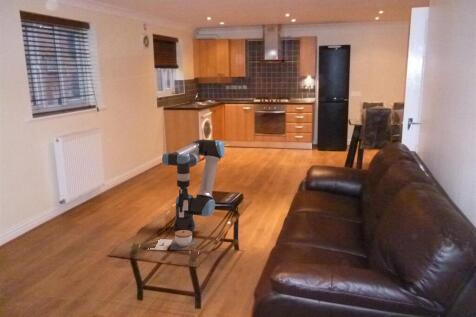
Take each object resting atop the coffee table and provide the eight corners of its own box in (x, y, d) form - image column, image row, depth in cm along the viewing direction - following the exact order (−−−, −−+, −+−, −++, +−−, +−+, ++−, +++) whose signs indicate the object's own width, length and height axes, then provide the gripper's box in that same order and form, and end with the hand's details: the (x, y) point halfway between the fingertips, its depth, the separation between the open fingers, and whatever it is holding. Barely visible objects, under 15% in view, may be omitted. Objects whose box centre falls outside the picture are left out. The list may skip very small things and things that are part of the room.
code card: (151, 239, 265) (151, 238, 265) (172, 239, 264) (172, 239, 264) (143, 249, 248) (143, 248, 248) (166, 250, 247) (166, 249, 247)
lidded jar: (193, 247, 252) (194, 232, 251) (176, 248, 249) (176, 234, 247) (189, 240, 262) (190, 226, 260) (173, 242, 258) (173, 228, 257)
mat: (174, 240, 263) (174, 240, 263) (196, 241, 262) (196, 241, 262) (169, 249, 249) (169, 248, 249) (192, 250, 248) (192, 249, 248)
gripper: (181, 174, 261) (181, 207, 264) (172, 184, 236) (172, 219, 240) (193, 175, 260) (193, 207, 264) (185, 184, 236) (185, 220, 240)
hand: (183, 213), depth 252 cm, fingers open, 13 cm apart
